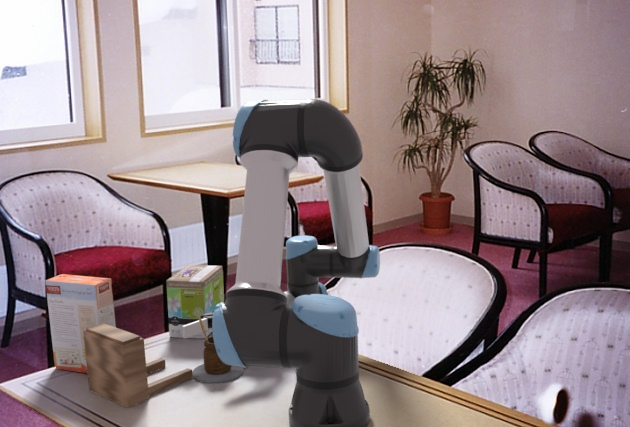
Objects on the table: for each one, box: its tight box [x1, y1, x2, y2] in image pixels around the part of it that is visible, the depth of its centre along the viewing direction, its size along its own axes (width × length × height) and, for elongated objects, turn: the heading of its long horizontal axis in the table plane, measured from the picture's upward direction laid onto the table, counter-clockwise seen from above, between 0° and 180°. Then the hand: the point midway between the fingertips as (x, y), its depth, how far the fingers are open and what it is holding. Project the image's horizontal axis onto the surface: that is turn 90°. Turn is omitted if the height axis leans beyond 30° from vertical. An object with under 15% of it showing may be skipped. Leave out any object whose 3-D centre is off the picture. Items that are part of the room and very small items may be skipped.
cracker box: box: [44, 273, 117, 374], centre depth 180 cm, size 14×6×21 cm, turn 65°
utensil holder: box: [199, 317, 232, 375], centre depth 175 cm, size 6×6×12 cm
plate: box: [192, 363, 244, 384], centre depth 176 cm, size 11×11×1 cm
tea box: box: [166, 264, 225, 339], centre depth 204 cm, size 15×10×15 cm, turn 168°
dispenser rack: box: [83, 323, 194, 409], centre depth 171 cm, size 14×18×14 cm
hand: (203, 339), depth 172 cm, fingers open, 13 cm apart
